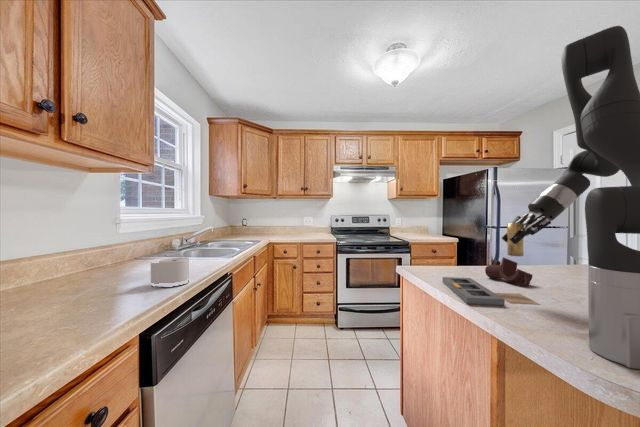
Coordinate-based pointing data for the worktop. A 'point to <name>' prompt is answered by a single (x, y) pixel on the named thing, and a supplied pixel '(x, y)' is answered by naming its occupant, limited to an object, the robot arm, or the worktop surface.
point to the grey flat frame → (473, 292)
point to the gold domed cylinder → (511, 247)
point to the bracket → (508, 272)
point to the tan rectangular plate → (516, 298)
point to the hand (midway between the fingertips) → (508, 240)
